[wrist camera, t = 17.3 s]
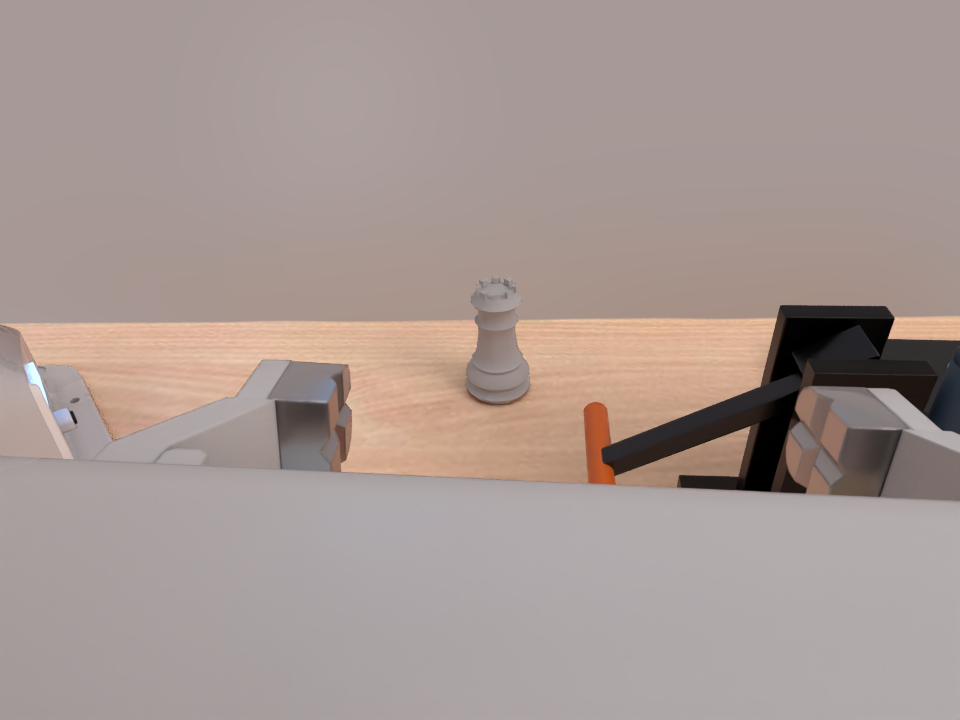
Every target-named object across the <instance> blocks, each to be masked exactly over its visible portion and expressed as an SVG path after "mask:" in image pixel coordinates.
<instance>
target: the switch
mask: <svg viewBox="0 0 960 720" xmlns="http://www.w3.org/2000/svg"><path fill="white" fill-rule="evenodd" d="M792 355H793V357H794V359H795V362H796V364H797V366H798V368H799V370H800V372H797V373H795V374H792V375H789V376H787V377H784V378H782V379H779V380H777V381H774V382H771V383H769V384H766V385H764V386H761V387H759V388H756V389H753V390H751V391H748V392H746V393H743V394H740V395H738V396H735V397H733V398H730V399H728V400H725V401H722V402H720V403H717V404H715V405H712V406H710V407H707V408H704V409H702V410H699V411H697V412H694V413H691V414H689V415H686V416H684V417H681V418H679V419H676V420H673V421H671V422H668V423H666V424H663V425H661V426H658V427H655V428H653V429H650V430H648V431H645V432H643V433H640V434H637V435H635V436H632V437H630V438H627V439H624V440H622V441H619V442H617V443H614V444H612V445H611V440H610V431H609V422H608V413H607V408H606V407H605V406H604V405H603V404H602V403H598V402H593V403H590V404H588V405H587V406H586V407H585V408H584V425H585V440H586V454H587V469H588V483H589V484H610V485H615V476H616V475H619V474H622V473H624V472H627V471H630V470H632V469H635V468H638V467H641V466H643V465H646V464H649V463H651V462H654V461H657V460H659V459H662V458H665V457H668V456H670V455H673V454H676V453H678V452H681V451H684V450H686V449H689V448H692V447H695V446H697V445H700V444H703V443H705V442H708V441H711V440H713V439H716V438H719V437H722V436H724V435H727V434H730V433H732V432H735V431H738V430H741V429H743V428H746V427H749V426H751V425H754V424H757V423H759V422H762V421H765V420H768V419H770V418H773V417H776V416H778V415H781V414H784V413H786V412H789V411H792V410H794V407H795V403H796V399H797V396H798V392H799V389H800V385H801V382H802V378H803V375H804V371H805V368H806V364H807V361H808V359H872V360H881V358H880V355H879V353H878V352H877V350H876V349H875V347H874V346H873V344H872V343H871V341H870V340H869V339H868V337H867V336H866V334H865V333H864V331H863V330H862V328H861V327H860V325H857V326H854V327H852V328H849V329H847V330H844V331H842V332H839V333H837V334H834V335H832V336H829V337H827V338H824V339H822V340H819V341H817V342H814V343H812V344H809V345H807V346H804V347H802V348H799V349H797V350H794V351H792Z"/></svg>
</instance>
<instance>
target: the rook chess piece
mask: <svg viewBox="0 0 960 720" xmlns="http://www.w3.org/2000/svg"><path fill="white" fill-rule="evenodd" d="M499 277H500V276H492V282H491V283H487V279H486V278H483V279H481V280H479V284H476V291H475V293H474V294H473V295H472V296H471V303H472V304H473V306H474V307H475V308H476V309H477V310H478V314H477V316H476V317H475V322H476V324H477V325H478V329H479V333H478V342H477V348H476V351H475V352H474V354H473V355H472V359H471V360H470V362H469V363H468V365H467V374H466V376H467V378H466V387H467V388H468V390H469V391H470V393H471V394H472V395H473V396H474V397H476V398H477V399H479V400H481V401H482V402H486V403H490V404H506V403H509V402H513V401H515V400H517V399H518V398H520V397H521V396H522V395H523V394H524V393H525V392H526V391H527V389H528V388H529V386H530V377H529V366H528V363H527V361H526V360H525V359H524V358H523V354H522V353H521V352H520V350H519V348H518V345H517V339H516V333H515V325H516V323H517V322H518V316H517V315H516V313H515V309H516V308H517V307H518V305H519V304H520V302H521V301H522V297H521V295H520V294H519V293H518V292H517V290H516V284H515V283H512V279H510V278H508V277H506V278H505V279H504V283H501V282H500V278H499Z"/></svg>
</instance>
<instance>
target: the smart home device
mask: <svg viewBox="0 0 960 720" xmlns="http://www.w3.org/2000/svg"><path fill="white" fill-rule="evenodd" d="M959 346H960V341H949V340H904V339H887V342H886V345H885V347H884V350H883V353H882V356H881V360H927V361H928V362H929V363H930V365H931V366H932V367H933V368H934V370H935V371H936V372H937V374H938V379H937V381H936V383H935V386H934V388H933V390H932V393H931V395H930V398H929V400H928V402H927V405H926V407H925V410H924V412H923V414H924V415H925V416H926V417H927V415H928V413H929V410H930V408H931V406H932V403H933V401H934V399H935V396H936V394H937V392H938V389H939V387H940V385H941V382H942V380H943V377H944V375H945V373H946V370H947V368H948V366H949V363H950V361H951V359H952V356H953V354H954V352H955V351H956V349H957V348H958V347H959Z"/></svg>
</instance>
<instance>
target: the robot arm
mask: <svg viewBox="0 0 960 720" xmlns="http://www.w3.org/2000/svg"><path fill="white" fill-rule="evenodd" d="M350 389H351V383H350V371H349V367H348V365H344V364H329V363H313V362H297V361H291V360H262V361H261V362H260V363H259V365H258V366H257V368H256V369H255V370H254V372H253V373H252V374H251V376H250V377H249V379H248V380H247V381H246V383H245V384H244V385H243V387H242V388H241V390H240V391H239V392H238V394H237V395H236V396H235V398H231V397H226V398H223V399H221V400H218V401H215V402H213V403H210V404H208V405H205V406H202V407H200V408H197V409H195V410H192V411H189V412H187V413H184V414H182V415H179V416H176V417H174V418H171V419H169V420H166V421H164V422H161V423H158V424H156V425H153V426H151V427H148V428H145V429H143V430H140V431H138V432H135V433H132V434H130V435H127V436H125V437H122V438H119V439H117V440H113V438H112V436H111V434H110V432H109V430H108V428H107V426H106V424H105V422H104V420H103V418H102V416H101V414H100V412H99V410H98V408H97V406H96V404H95V402H94V400H93V398H92V396H91V394H90V392H89V390H88V388H87V386H86V384H85V382H84V380H83V378H82V376H81V375H80V373H79V372H78V370H77V369H76V368H75V367H73V366H64V365H46V366H37V364H36V362H35V360H34V358H33V356H32V354H31V352H30V350H29V348H28V346H27V344H26V342H25V340H24V338H23V336H22V335H21V333H20V332H19V331H18V330H16V329H13V328H11V327H7V326H2V325H0V720H960V434H957V433H954V432H952V431H942V430H941V429H940V428H939V427H937V426H936V425H935V424H934V423H933V422H932V421H931V420H929V419H928V418H927V417H926V416H925V415H924V414H923V413H921V412H920V411H919V410H918V409H917V408H916V407H915V406H913V405H912V404H911V403H910V402H909V401H908V400H907V399H905V398H904V397H903V396H902V395H901V394H900V393H899V392H897V391H896V390H894V389H889V388H865V387H833V386H809V387H805V388H803V389H802V391H801V393H800V395H799V396H798V400H797V403H796V407H795V410H796V412H797V414H798V416H799V418H800V420H801V421H800V422H799V423H797V424H796V425H795V426H794V427H793V428H792V429H791V430H790V431H789V434H788V439H787V444H786V463H787V467H788V470H789V473H790V474H791V476H792V478H793V479H794V481H795V482H797V483H799V484H801V485H802V486H804V487H806V488H807V490H806V494H802V493H780V492H759V491H738V490H717V489H695V488H674V487H653V486H631V485H610V484H589V483H567V482H546V481H525V480H503V479H482V478H461V477H439V476H418V475H397V474H375V473H354V472H341V463H342V462H344V461H345V460H346V459H347V456H348V453H349V448H350V442H351V434H352V410H351V409H350V408H349V407H348V405H347V404H346V403H345V402H346V399H347V397H348V394H349V392H350Z"/></svg>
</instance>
